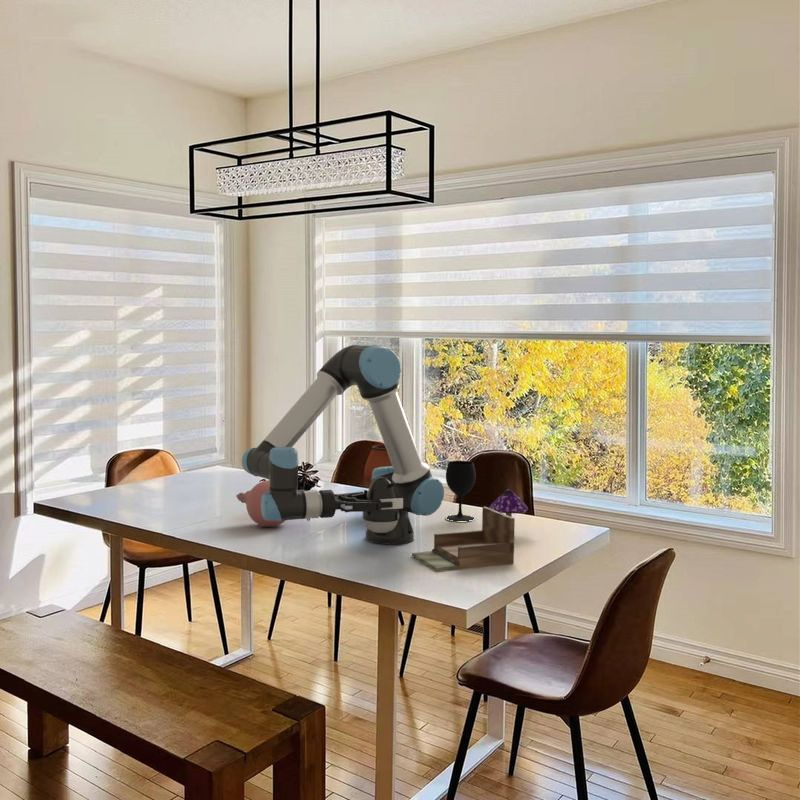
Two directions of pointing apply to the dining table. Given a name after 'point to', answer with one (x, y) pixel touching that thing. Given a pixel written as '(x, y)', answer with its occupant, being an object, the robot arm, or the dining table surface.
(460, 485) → the wine glass
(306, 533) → the dining table surface
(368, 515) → the dark grey figurine
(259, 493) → the pink round body
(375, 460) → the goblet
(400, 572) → the dining table surface
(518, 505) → the decorative mushroom
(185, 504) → the dining table surface
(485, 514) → the brown wooden tray
